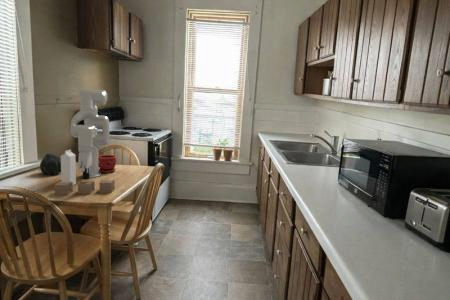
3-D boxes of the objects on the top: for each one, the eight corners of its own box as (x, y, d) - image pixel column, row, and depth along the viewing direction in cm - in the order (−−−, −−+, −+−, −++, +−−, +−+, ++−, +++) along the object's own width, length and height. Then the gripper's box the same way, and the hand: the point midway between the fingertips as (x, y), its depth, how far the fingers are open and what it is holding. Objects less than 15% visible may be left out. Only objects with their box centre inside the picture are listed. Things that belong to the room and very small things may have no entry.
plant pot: (119, 170, 233) (119, 155, 231) (109, 174, 220) (109, 158, 218) (104, 169, 236) (104, 153, 234) (93, 172, 223) (93, 156, 221)
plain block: (82, 190, 181) (82, 180, 180) (94, 190, 182) (94, 180, 181) (78, 193, 174) (77, 183, 174) (90, 194, 175) (90, 184, 174)
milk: (61, 185, 187) (60, 150, 184) (67, 183, 193) (66, 149, 190) (70, 186, 187) (69, 151, 183) (76, 183, 193) (75, 149, 189)
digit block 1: (60, 191, 177) (60, 181, 176) (72, 191, 178) (72, 181, 177) (55, 195, 170) (54, 184, 169) (68, 195, 171) (67, 184, 170)
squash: (72, 165, 219) (58, 148, 218) (58, 170, 204) (43, 153, 203) (58, 176, 222) (45, 160, 220) (44, 182, 207) (30, 165, 206)
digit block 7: (102, 188, 186) (102, 179, 185) (114, 189, 187) (114, 179, 186) (99, 192, 179) (99, 182, 178) (111, 192, 180) (111, 182, 179)
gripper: (83, 145, 181) (84, 175, 185) (73, 150, 167) (74, 182, 170) (96, 146, 182) (96, 175, 185) (88, 151, 168) (88, 183, 171)
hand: (86, 179), depth 178 cm, fingers closed
